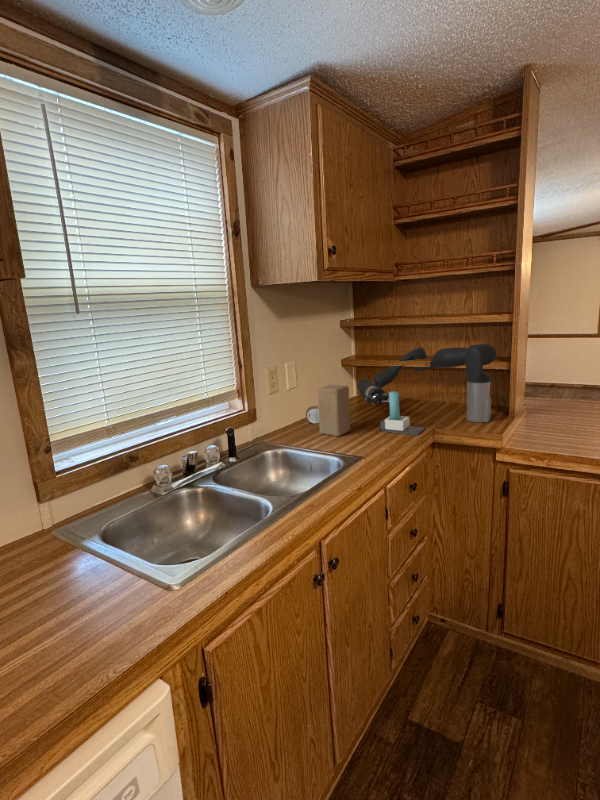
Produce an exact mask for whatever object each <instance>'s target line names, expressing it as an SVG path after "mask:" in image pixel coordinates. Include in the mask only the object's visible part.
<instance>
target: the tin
mask: <svg viewBox="0 0 600 800" xmlns="http://www.w3.org/2000/svg"><path fill="white" fill-rule="evenodd" d="M305 419H306V420H307V421H308V423H311V424H313V425H319V424H318V423H319V409H318V405H311V406H309V407H308V408H307V409H306V412H305Z"/></svg>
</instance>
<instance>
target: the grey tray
mask: <svg viewBox="0 0 600 800" xmlns="http://www.w3.org/2000/svg"><path fill="white" fill-rule="evenodd" d="M388 417H389V416H386V418H384V419H382V420H381V421H380V432H381V433H388V432H392V433H391V434H398V433H401V435H408V436H410V435H411V436H418V435H420V434H421V433H422V432H423V431H424V430H425V427H422V426H414V425H413V426H412V425H410V426H409V427H408V428H406V429H405V430H404V431H400V430H389V429H385V419H387V418H388Z"/></svg>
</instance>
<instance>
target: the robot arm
mask: <svg viewBox="0 0 600 800" xmlns="http://www.w3.org/2000/svg"><path fill="white" fill-rule="evenodd" d="M496 357H497V351H496V349H495V347H494V346H492V345H491V344H488V343H477V344H472V345H470V346H468V347H444V348H440V349H439V350H437V351H436V352H435V353H434V355H433V356H432V358H430V360H431V362H430V367H412V366H411V368H412V369H413V370H414V371H417V372H419V371H426V370H430V369H446V368H449V369H450V368H456V367H462V366H465V374H466V378H467V392H466V396H467V397H466V398H467V399H466V402H467V403H466V420H467V421H469V422H473V423H488V422H490V420H491V413H492V412H491V411H492V410H491V409H492V408H491V407H492V406H491V405H492V404H491V403H492V398H491V375H490V374H488V373H486V372H485V371H484V369H483V368H484V367H483V366H488V365H490V364H491V363H493V362H494V360H495V359H496ZM425 358H428V359H429V357H428V355H427V353H426V350H425V349H424V348H423V347H422V346H421V347H420V346H419V347H416V348H413V349H410V351H408V352H407V353H405V354H404V355H403V356H402V357H400V358H399V359H398V360H399V361H407V360H416V359H425ZM407 362H408V361H407ZM403 367H404V365H403V366H391V365H390V366H389V367H387V368H386V369H384V370H382V371H380V372H379V373H377V374H376V375H374V376H373V378H372V379H373V383H374V384H373V383H372V382H371V380H370V379H368V378H361V379H360V380H358V381H357V384H356V388H357V390H358V392H359V394H360V395H361V397H362V399H363V400H364V401H365V403H366V404H373V405H374V404H375V405H376V406H378V405H381V404H383V403H384V402H385V403H389V393H386V392H385V390H383V388H384V387H385V386H387V385H389V384H390V383H392V382H394V380H395V379H396V378H397V377H398V376H399V373H400V371H401V370H402V369H403Z"/></svg>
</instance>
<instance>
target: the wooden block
mask: <svg viewBox="0 0 600 800" xmlns="http://www.w3.org/2000/svg"><path fill="white" fill-rule="evenodd" d="M317 403H318V404H317V406H318V409H319V424H318V425H319V426H318V427H319V433H320V434H321V435H325V434H326V436H332V437H333V436H334V437H340V436H343V435H345V434H347V433H348V432H350V431H351V413H350V411H351V410H350V388H349V386H348V385H344V384H343V385H342V384H328V385H324V386H321V387H318V388H317Z"/></svg>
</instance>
